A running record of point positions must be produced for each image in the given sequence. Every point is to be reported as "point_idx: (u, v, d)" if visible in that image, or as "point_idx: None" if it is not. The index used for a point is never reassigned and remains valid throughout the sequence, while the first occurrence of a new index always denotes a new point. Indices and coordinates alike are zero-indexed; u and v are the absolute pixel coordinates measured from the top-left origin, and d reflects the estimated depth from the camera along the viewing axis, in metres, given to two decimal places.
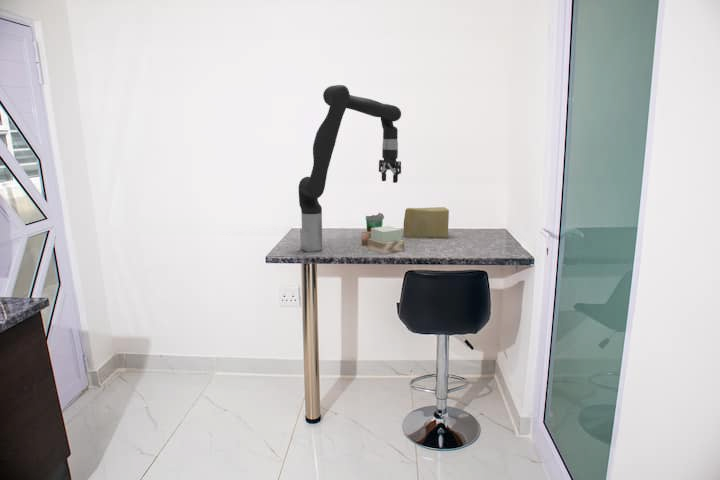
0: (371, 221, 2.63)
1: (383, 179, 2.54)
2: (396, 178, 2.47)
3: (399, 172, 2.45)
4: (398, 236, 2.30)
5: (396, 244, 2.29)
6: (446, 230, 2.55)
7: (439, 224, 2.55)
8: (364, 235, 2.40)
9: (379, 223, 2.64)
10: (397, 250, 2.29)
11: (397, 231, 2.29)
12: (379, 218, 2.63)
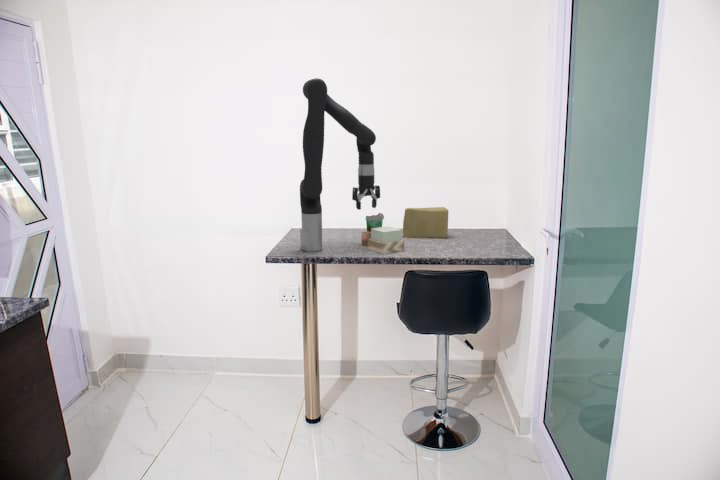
0: (371, 221, 2.63)
1: None
2: None
3: None
4: (398, 236, 2.30)
5: (396, 245, 2.29)
6: (446, 230, 2.55)
7: (439, 224, 2.55)
8: (364, 235, 2.40)
9: (379, 223, 2.64)
10: (397, 250, 2.30)
11: (397, 231, 2.29)
12: (379, 218, 2.63)
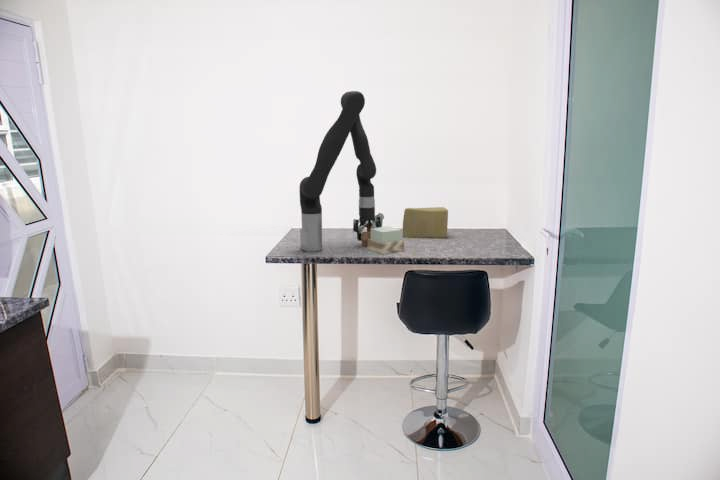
0: None
1: None
2: None
3: None
4: (398, 236, 2.30)
5: (396, 245, 2.29)
6: (445, 230, 2.55)
7: (439, 224, 2.55)
8: (364, 235, 2.40)
9: None
10: (397, 250, 2.29)
11: (396, 231, 2.29)
12: None
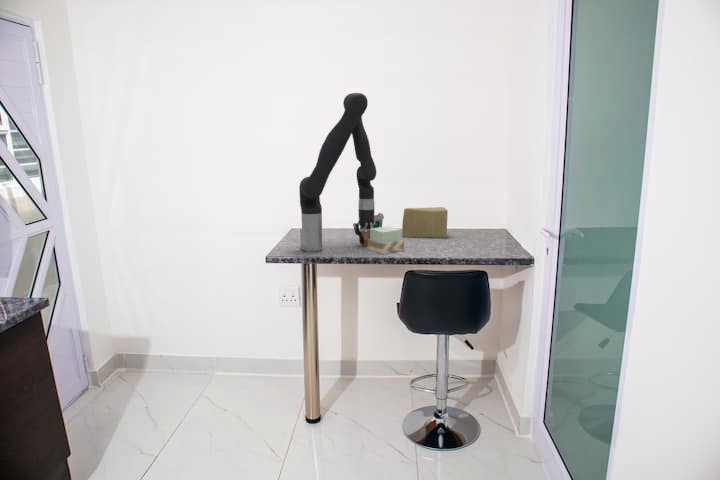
0: None
1: None
2: None
3: None
4: (397, 236, 2.30)
5: (396, 245, 2.29)
6: (445, 230, 2.55)
7: (438, 224, 2.55)
8: (364, 234, 2.40)
9: (379, 223, 2.64)
10: (397, 250, 2.29)
11: (396, 231, 2.29)
12: (379, 218, 2.63)
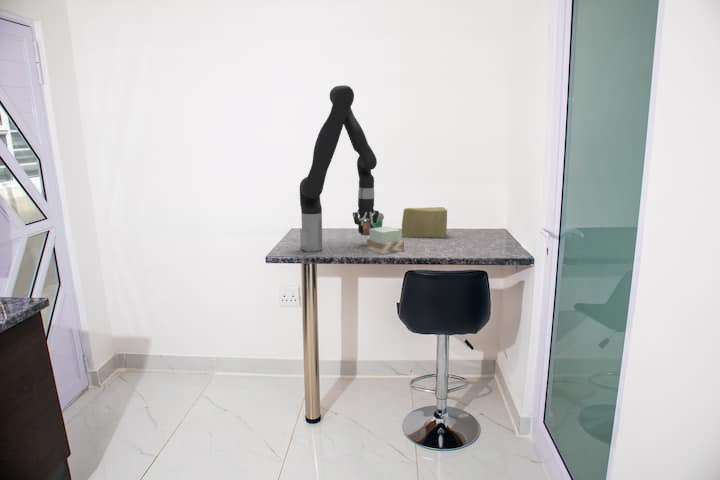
0: None
1: None
2: None
3: None
4: (397, 236, 2.30)
5: (396, 245, 2.28)
6: (444, 230, 2.55)
7: (438, 224, 2.55)
8: (363, 224, 2.39)
9: (379, 223, 2.64)
10: (397, 250, 2.29)
11: (396, 232, 2.29)
12: (379, 218, 2.63)
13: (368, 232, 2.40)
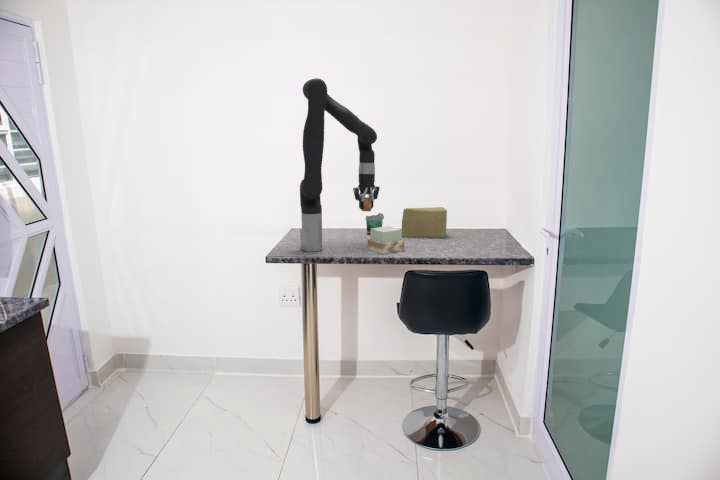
0: (371, 221, 2.63)
1: None
2: None
3: None
4: (398, 236, 2.30)
5: (396, 245, 2.28)
6: (444, 230, 2.55)
7: (438, 224, 2.55)
8: (364, 200, 2.36)
9: (379, 223, 2.64)
10: (397, 250, 2.29)
11: (397, 231, 2.29)
12: (379, 218, 2.63)
13: (369, 208, 2.37)
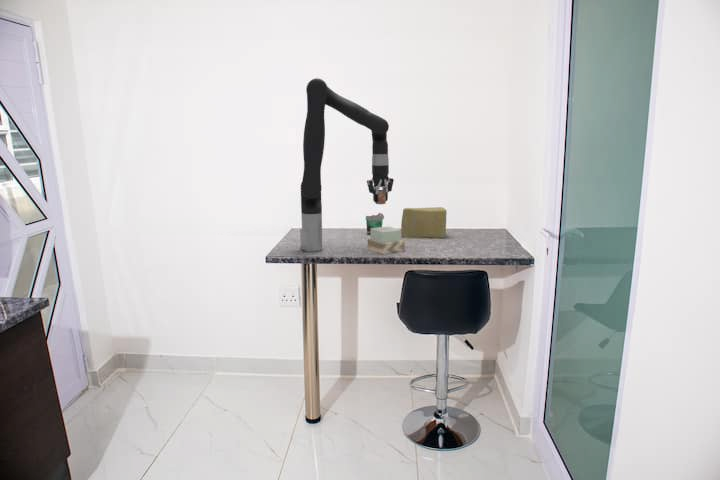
0: (371, 221, 2.63)
1: None
2: None
3: None
4: (398, 236, 2.29)
5: (396, 245, 2.28)
6: (444, 230, 2.55)
7: (437, 224, 2.54)
8: (378, 192, 2.29)
9: (379, 223, 2.64)
10: (397, 251, 2.29)
11: (396, 232, 2.28)
12: (379, 218, 2.63)
13: (383, 201, 2.30)
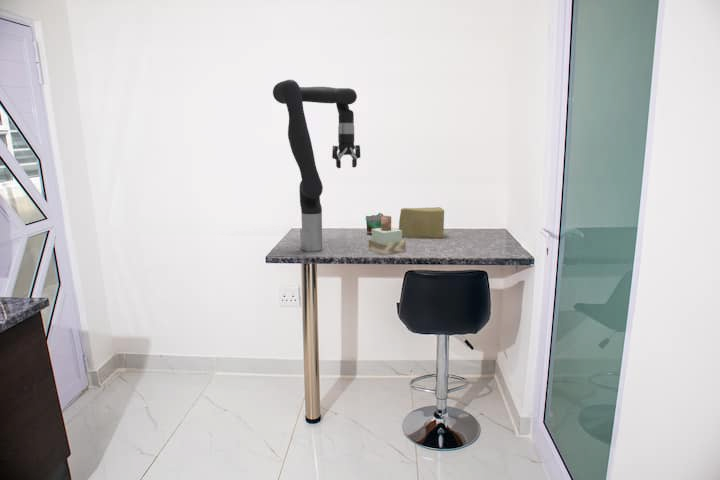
0: (371, 221, 2.63)
1: None
2: None
3: None
4: (399, 237, 2.28)
5: (397, 245, 2.27)
6: (441, 230, 2.55)
7: (435, 224, 2.54)
8: (384, 219, 2.27)
9: (379, 223, 2.64)
10: (398, 251, 2.28)
11: (397, 232, 2.27)
12: (379, 218, 2.63)
13: (389, 227, 2.28)
